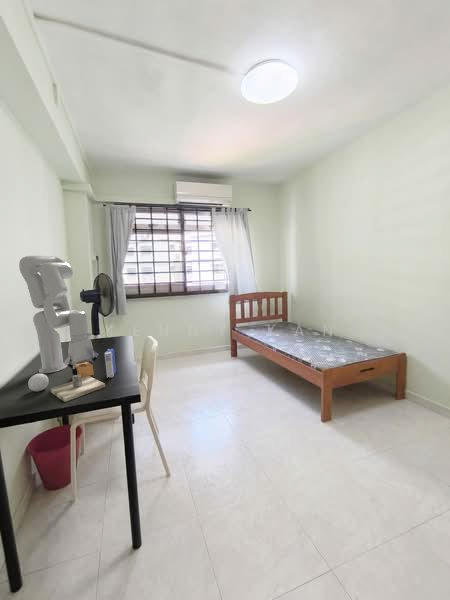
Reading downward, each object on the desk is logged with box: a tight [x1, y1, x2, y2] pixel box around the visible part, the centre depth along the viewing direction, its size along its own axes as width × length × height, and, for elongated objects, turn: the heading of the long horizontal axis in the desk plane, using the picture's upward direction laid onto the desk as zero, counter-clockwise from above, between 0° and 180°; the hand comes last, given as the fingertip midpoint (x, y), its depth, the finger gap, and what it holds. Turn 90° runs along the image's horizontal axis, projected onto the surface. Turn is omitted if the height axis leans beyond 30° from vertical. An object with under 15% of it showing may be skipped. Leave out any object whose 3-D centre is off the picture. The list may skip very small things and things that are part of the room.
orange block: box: [76, 361, 95, 378], centre depth 129 cm, size 7×7×5 cm
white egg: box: [27, 373, 50, 392], centre depth 114 cm, size 10×7×7 cm
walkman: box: [104, 348, 117, 379], centre depth 129 cm, size 8×3×12 cm, turn 11°
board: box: [49, 375, 106, 403], centre depth 114 cm, size 16×16×6 cm
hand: (83, 373), depth 129 cm, fingers closed on orange block, 6 cm apart
